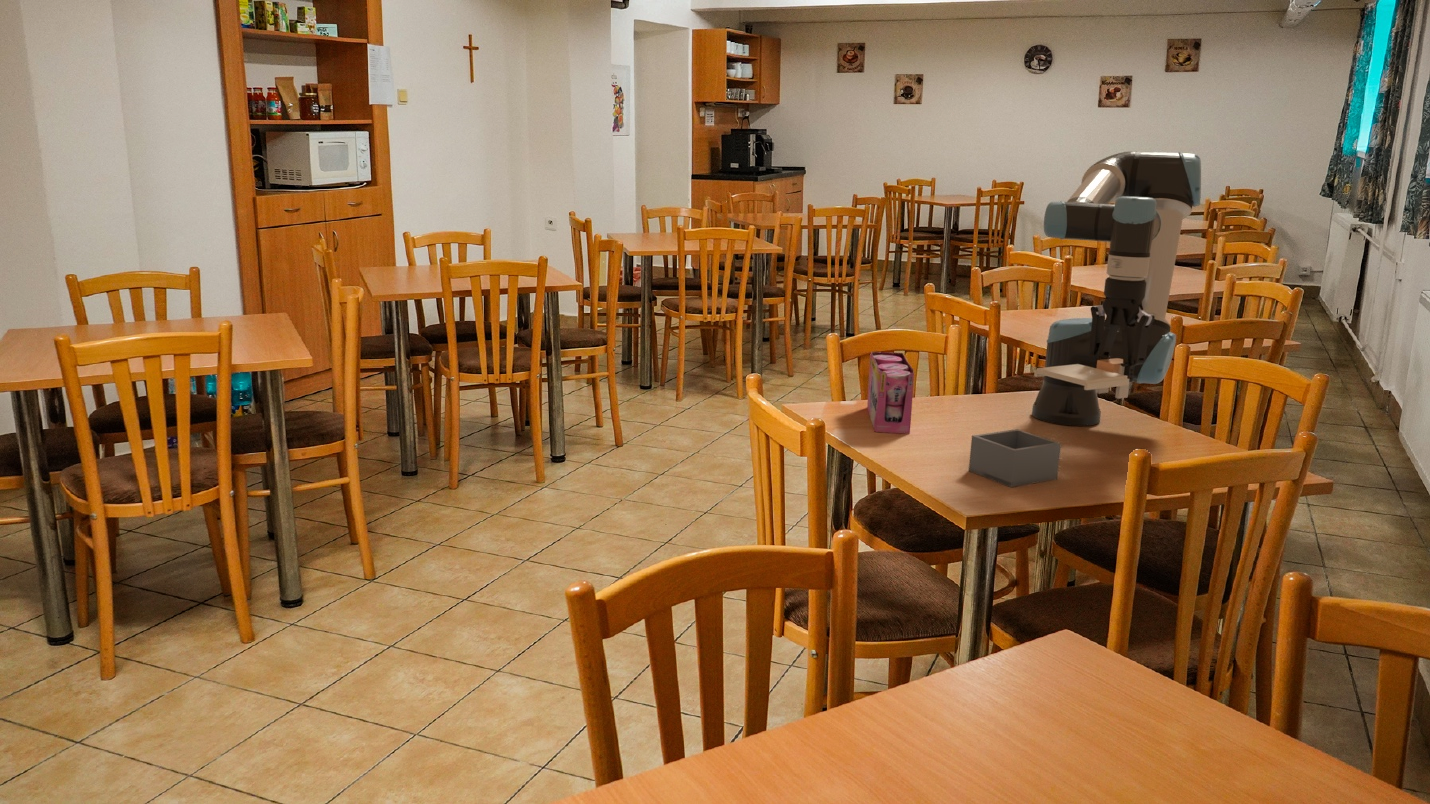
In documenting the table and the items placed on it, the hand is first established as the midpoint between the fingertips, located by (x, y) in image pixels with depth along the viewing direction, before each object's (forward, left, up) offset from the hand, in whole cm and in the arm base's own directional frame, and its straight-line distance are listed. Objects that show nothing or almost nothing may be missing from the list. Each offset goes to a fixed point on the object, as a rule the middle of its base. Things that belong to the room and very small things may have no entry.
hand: (1111, 394), depth 210 cm
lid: (+6, 0, +3) cm, 7 cm away
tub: (+25, 0, -13) cm, 29 cm away
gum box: (+21, -43, -14) cm, 50 cm away
